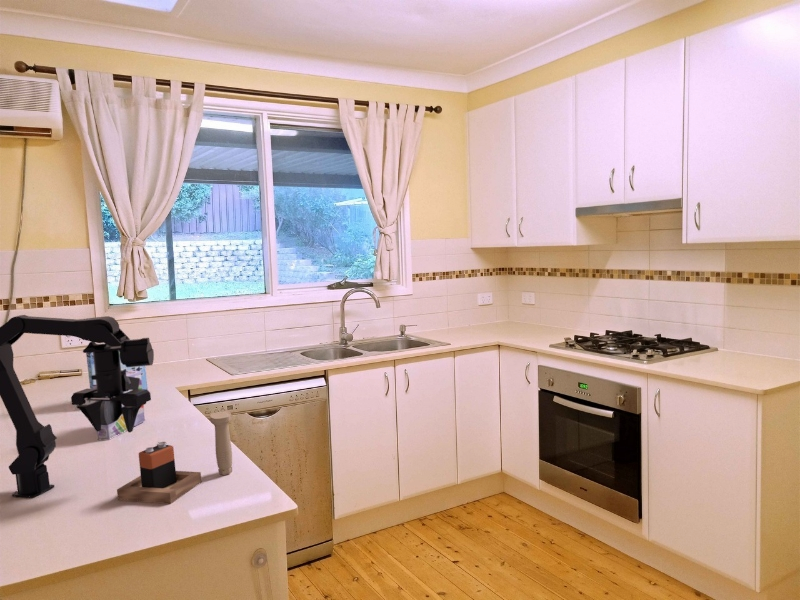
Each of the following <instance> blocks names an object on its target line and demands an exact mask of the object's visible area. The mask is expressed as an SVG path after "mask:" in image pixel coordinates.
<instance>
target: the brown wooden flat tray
mask: <svg viewBox="0 0 800 600" xmlns="http://www.w3.org/2000/svg"><path fill="white" fill-rule="evenodd" d="M201 473H202V472H201V471H186V470H185V471H184V470H176V480H177V481H176V482H175V483H174V484H171V485H169V486H167V487H165V488H148V487H142V483H141V475H139V476H137V477H136V478H134V479H132V480H131V481H128V482H127V483H125V484H124V485H122V486H120V487H118V488H116V495H117V500H118V501H126V502H139V503H140V502H144V503H146V502H147V503H156V504H157V503H158V504H172V503H174V502H175V501H176V500H179V498H181V497H183V496H184V495H185V494H186V493H187V494H188V493H189V492H190V491H191V490H192V489H194V488H195V487H197V486H198V485H200V484H201V483H202V474H201Z"/></svg>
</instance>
